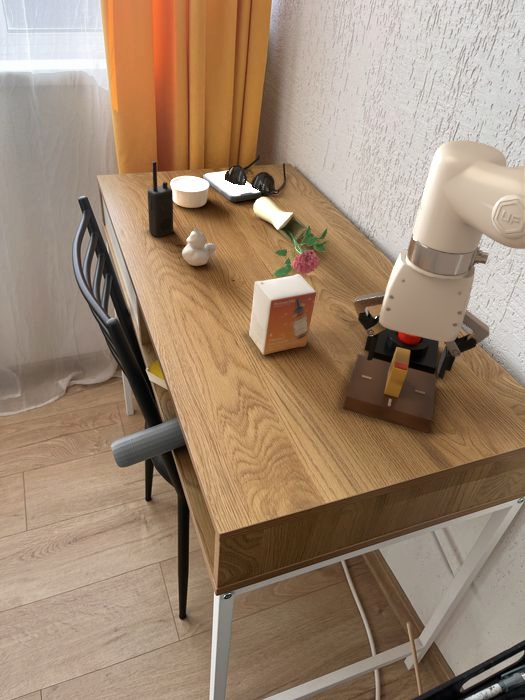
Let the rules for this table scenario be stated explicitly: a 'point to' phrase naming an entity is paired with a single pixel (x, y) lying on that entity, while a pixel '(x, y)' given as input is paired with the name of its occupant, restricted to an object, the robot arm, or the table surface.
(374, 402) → the plate
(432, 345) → the button box
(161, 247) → the table surface
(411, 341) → the button
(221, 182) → the phone case
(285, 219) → the toppled flower pot
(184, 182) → the ramekin
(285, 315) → the small box
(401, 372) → the yellow block
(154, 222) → the walkie-talkie
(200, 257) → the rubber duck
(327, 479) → the table surface
